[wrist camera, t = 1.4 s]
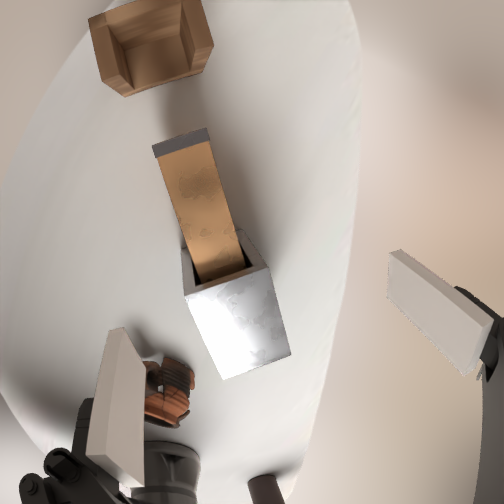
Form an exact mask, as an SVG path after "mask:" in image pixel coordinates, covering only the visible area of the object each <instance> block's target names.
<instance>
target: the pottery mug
mask: <svg viewBox="0 0 504 504" xmlns="http://www.w3.org/2000/svg"><path fill="white" fill-rule="evenodd" d="M142 362H143V364H144V366H145V367H146V378H145V399H144V421H146V422H149V423H152V424H155V425H158V426H162V427H167V428H178V427H180V425H179V421H180V420H182V419H184V418H185V417H186V416H187V415H188V414H189V413H190V410H187V409H188V408H189V404H190V402H189V400H188V398H189V395H190V389H191V390H193V389H194V387H195V381H194V377H195V376H194V373H193V372H192V371H191V370H190V369H189V368H187V367H186V366H185V365H184V364H181V363H180V362H177V361H175V360H172V359H169V358H164V360H163V363H162V366H161V367H160V366H159V365H158V364H157V363H156V362H154V361H150V362H149V361H142ZM161 385H163V393H162V392H158V386H161ZM186 410H187V411H186ZM184 412H185V413H184ZM183 413H184V414H183Z"/></svg>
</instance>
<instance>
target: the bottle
mask: <svg viewBox="0 0 504 504" xmlns="http://www.w3.org/2000/svg"><path fill="white" fill-rule="evenodd" d="M248 488H249V491H250V494H251V498H252V501H253V504H285V502H284V500H283V497H282V494H281V492H280V489H279V486H278V484H277V481H276V478H275V477H274V476H272V475H263V476H259V477H256V478H253V479H252V480H250V481H249V482H248Z"/></svg>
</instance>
